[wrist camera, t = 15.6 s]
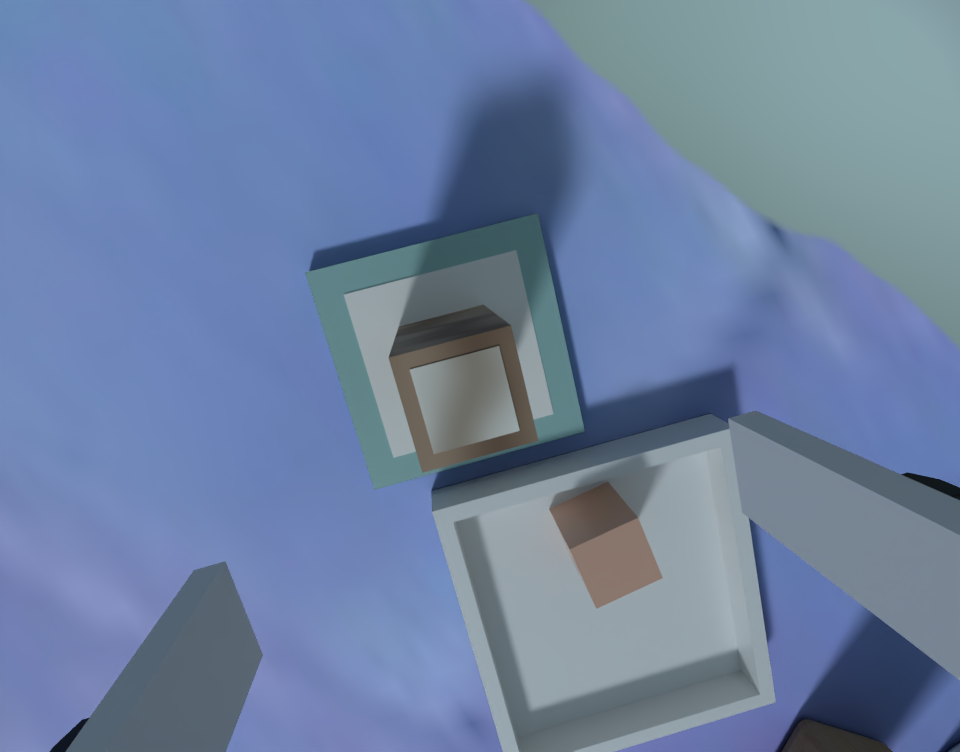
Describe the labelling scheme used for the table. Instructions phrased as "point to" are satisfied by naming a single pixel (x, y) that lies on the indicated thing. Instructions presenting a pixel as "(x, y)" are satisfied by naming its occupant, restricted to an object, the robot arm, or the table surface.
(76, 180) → the table surface
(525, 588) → the tray
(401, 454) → the board
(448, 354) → the walnut box
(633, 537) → the clay cube
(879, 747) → the wooden block
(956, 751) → the planter
